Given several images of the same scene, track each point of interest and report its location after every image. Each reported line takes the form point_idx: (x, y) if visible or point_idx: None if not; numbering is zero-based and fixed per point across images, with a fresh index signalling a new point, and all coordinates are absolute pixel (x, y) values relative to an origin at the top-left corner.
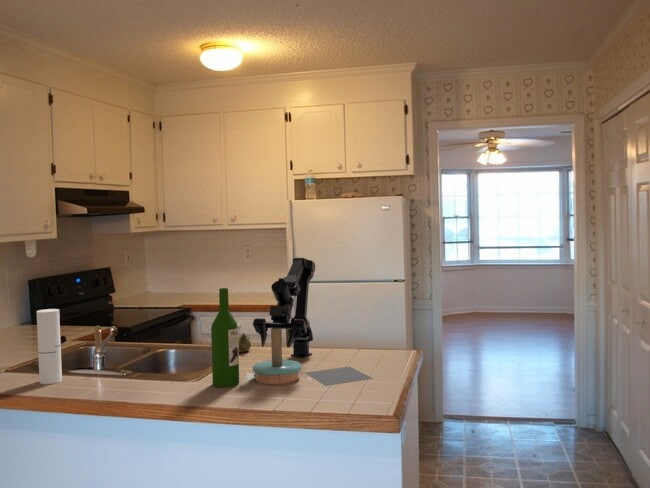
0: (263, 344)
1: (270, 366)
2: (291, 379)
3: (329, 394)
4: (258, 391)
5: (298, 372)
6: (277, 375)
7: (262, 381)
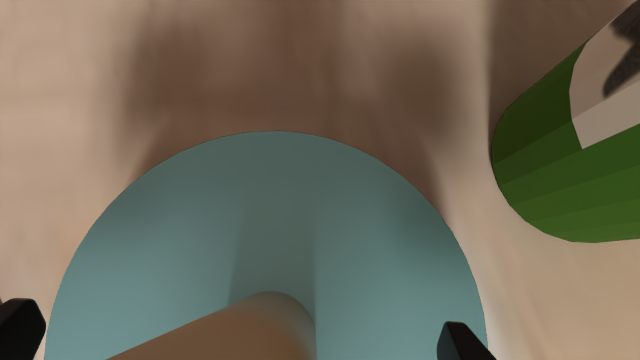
0: (448, 354)
1: (321, 303)
2: None
3: None
4: (326, 47)
5: None
6: None
7: None
